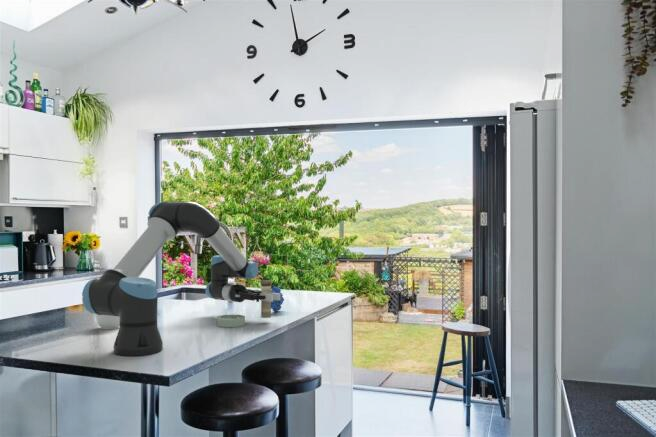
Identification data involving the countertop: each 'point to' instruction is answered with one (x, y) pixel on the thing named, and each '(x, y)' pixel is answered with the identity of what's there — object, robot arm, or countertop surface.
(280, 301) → the grapes
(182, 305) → the countertop surface
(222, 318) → the pale green ring
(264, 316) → the birch dowel
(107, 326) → the lidded jar
